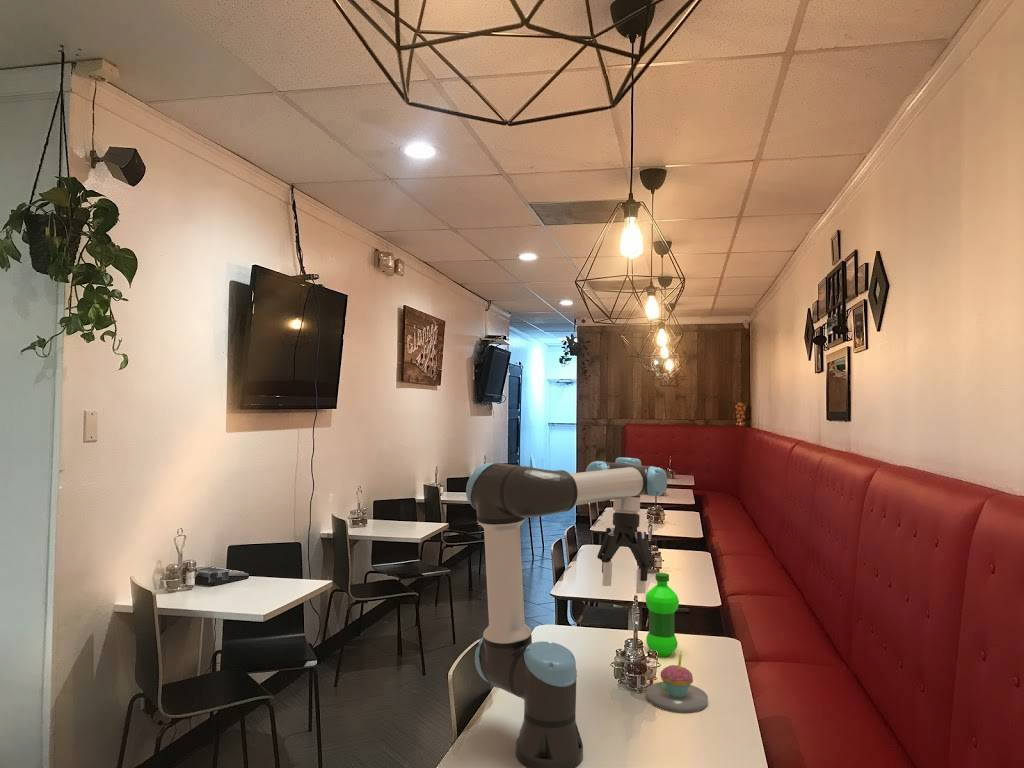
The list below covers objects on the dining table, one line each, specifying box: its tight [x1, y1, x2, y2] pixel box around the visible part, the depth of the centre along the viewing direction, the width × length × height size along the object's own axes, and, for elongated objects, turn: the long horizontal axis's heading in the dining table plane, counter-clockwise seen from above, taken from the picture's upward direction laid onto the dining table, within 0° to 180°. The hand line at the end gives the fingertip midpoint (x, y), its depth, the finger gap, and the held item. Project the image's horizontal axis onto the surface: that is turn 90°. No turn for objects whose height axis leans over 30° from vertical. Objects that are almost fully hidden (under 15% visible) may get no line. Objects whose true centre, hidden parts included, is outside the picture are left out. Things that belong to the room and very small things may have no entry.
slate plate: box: [645, 681, 709, 714], centre depth 183 cm, size 16×16×2 cm
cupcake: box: [660, 651, 694, 697], centre depth 184 cm, size 9×8×12 cm
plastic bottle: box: [645, 572, 680, 658], centre depth 217 cm, size 10×10×25 cm
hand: (623, 589), depth 191 cm, fingers open, 13 cm apart
